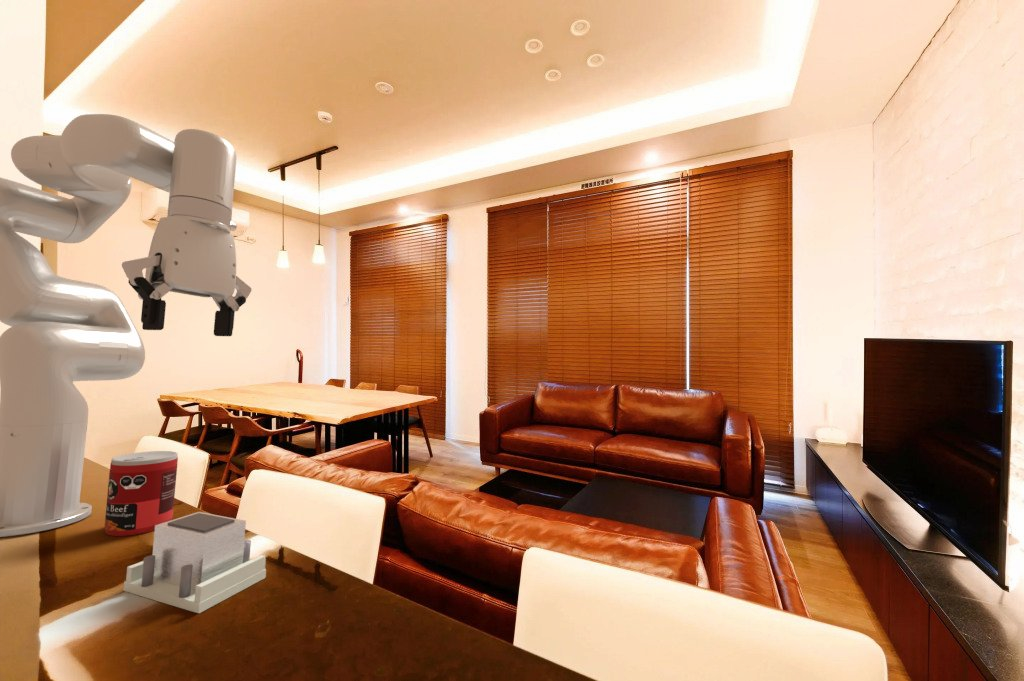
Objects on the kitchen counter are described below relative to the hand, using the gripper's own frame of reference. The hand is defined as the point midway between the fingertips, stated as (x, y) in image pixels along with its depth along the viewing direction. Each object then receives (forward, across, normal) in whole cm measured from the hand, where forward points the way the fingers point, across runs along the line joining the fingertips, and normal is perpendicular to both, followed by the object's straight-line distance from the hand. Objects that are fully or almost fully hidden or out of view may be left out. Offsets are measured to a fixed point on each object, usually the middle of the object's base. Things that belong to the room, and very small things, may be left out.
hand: (190, 333), depth 60 cm
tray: (+30, +6, +13) cm, 33 cm away
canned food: (+31, -3, -12) cm, 33 cm away
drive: (+29, +6, +13) cm, 32 cm away
